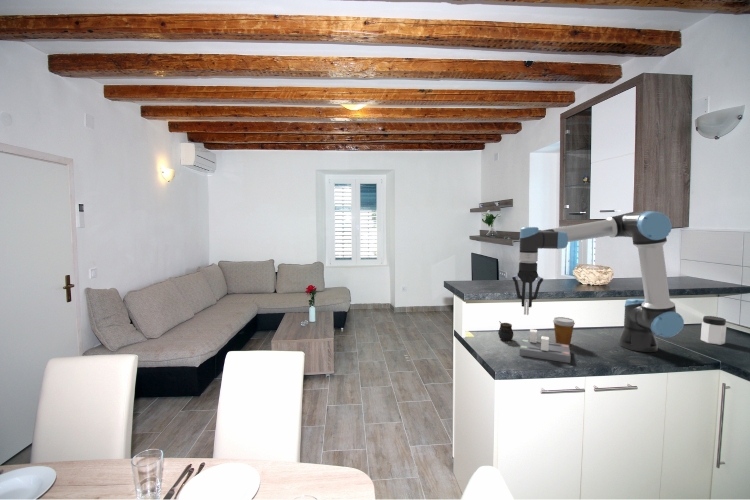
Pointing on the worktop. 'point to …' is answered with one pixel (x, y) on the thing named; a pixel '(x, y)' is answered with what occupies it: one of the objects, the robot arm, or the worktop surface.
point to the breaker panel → (554, 352)
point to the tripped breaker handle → (544, 343)
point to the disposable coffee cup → (563, 330)
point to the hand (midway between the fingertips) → (526, 314)
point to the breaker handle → (533, 335)
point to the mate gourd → (505, 331)
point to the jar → (713, 330)
